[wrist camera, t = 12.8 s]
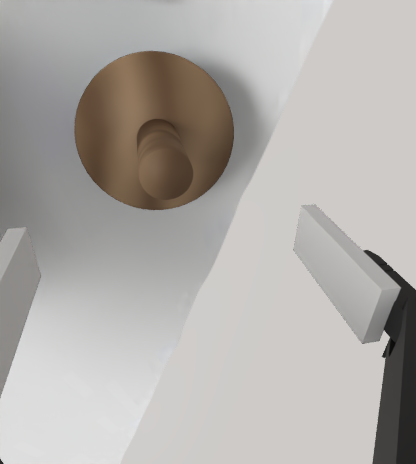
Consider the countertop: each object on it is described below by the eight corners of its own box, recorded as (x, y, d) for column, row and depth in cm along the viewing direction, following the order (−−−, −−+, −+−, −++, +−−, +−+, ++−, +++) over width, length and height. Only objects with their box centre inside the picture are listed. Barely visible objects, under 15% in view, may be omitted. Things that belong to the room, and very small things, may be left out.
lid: (89, 209, 36) (77, 267, 28) (61, 50, 29) (33, 61, 20) (227, 200, 39) (254, 249, 31) (235, 51, 31) (275, 62, 23)
